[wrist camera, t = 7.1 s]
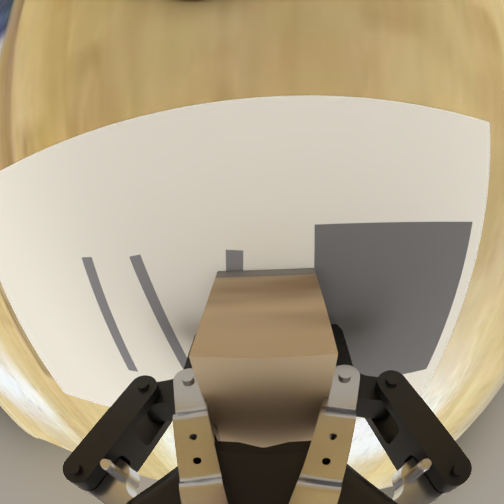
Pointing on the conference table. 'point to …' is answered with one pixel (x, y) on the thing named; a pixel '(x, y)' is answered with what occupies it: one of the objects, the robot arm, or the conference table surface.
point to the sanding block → (265, 355)
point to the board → (244, 230)
